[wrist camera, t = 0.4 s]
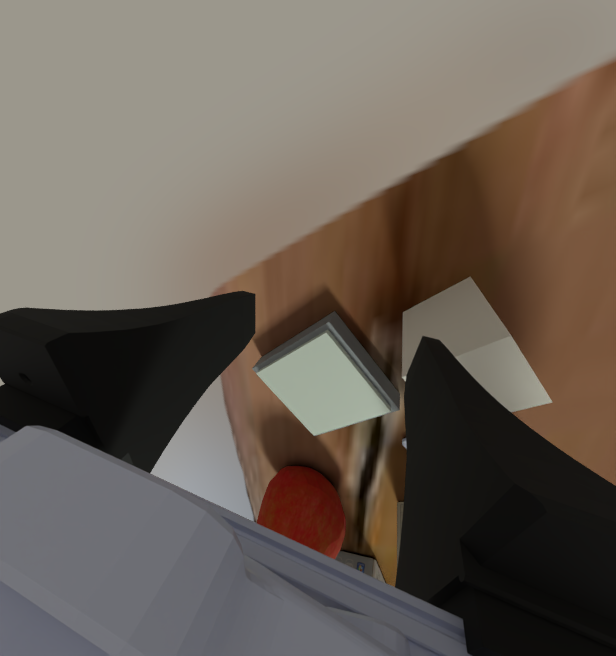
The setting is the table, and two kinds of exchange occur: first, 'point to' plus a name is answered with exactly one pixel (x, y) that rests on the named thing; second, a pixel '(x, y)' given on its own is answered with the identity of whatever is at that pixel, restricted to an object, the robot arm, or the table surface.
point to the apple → (304, 510)
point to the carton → (474, 344)
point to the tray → (327, 378)
